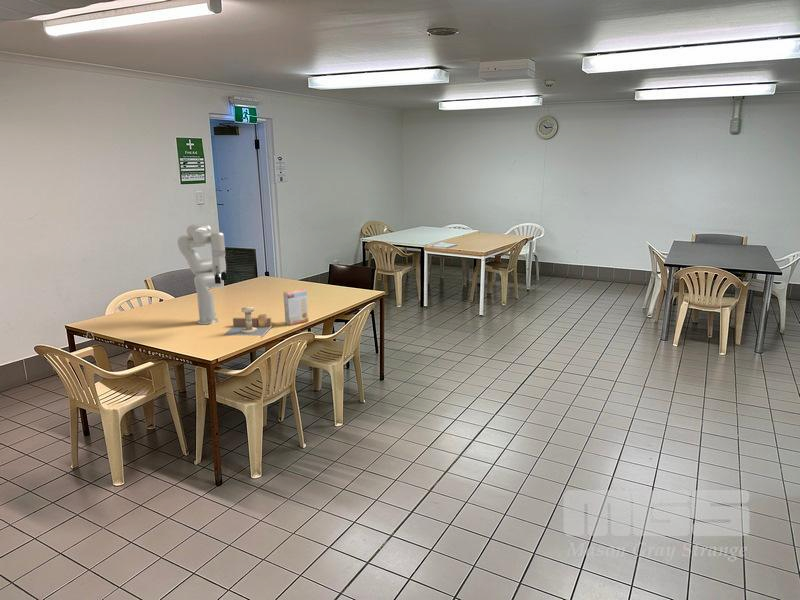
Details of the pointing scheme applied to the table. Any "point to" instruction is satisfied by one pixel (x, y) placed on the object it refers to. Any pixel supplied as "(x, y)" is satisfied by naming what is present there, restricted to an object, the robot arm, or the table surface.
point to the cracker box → (295, 307)
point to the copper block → (262, 320)
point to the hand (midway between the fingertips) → (221, 281)
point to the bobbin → (248, 320)
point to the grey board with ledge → (241, 323)
